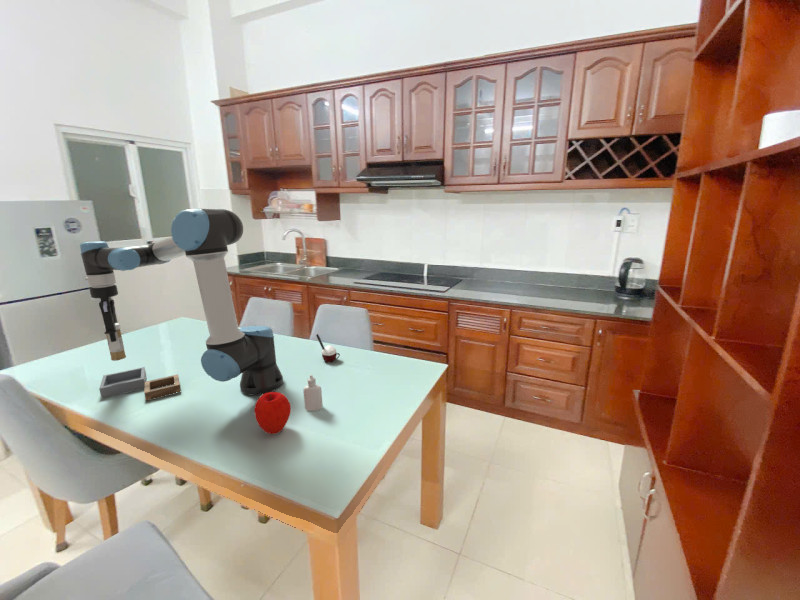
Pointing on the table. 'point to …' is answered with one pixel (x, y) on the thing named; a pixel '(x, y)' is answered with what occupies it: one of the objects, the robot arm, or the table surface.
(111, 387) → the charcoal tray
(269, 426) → the apple
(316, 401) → the eye dropper bottle
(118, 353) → the sprinkles bottle
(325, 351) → the cocoa
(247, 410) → the table surface
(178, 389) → the walnut collar
